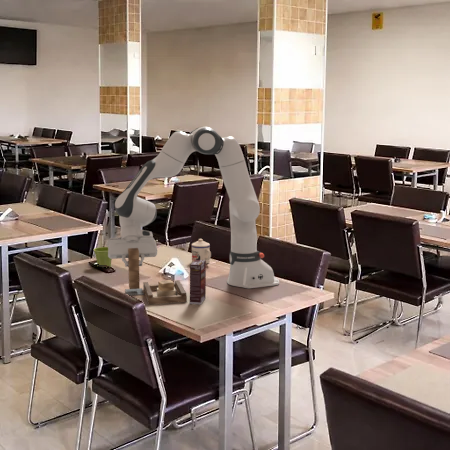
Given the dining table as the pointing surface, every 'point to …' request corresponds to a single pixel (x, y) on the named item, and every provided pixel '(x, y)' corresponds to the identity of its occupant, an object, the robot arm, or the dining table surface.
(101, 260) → the plant pot
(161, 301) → the tray
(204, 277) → the supplement box
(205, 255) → the teacup with lid
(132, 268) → the slat
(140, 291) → the mat
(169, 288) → the offcut top
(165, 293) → the offcut low
